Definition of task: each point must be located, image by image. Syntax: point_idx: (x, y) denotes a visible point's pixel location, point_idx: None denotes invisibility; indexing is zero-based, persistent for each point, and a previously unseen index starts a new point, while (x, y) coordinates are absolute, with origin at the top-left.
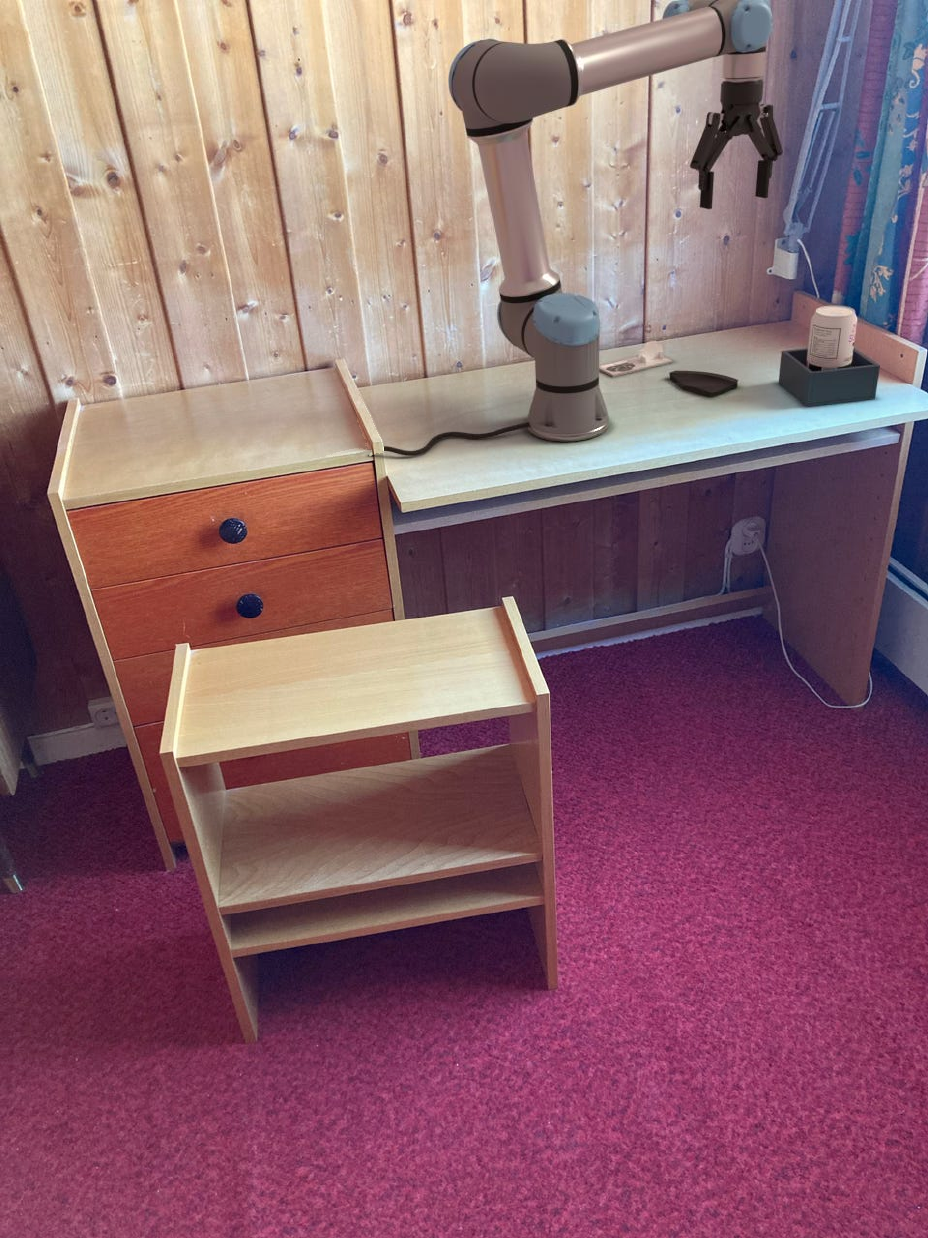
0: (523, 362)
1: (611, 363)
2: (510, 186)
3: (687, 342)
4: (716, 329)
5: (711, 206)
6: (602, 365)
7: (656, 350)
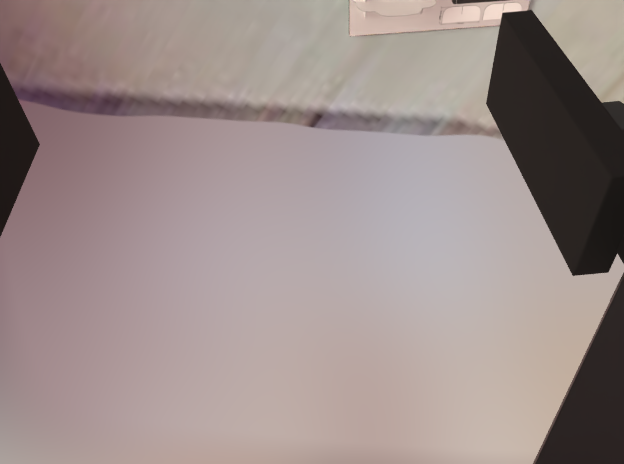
0: None
1: (483, 21)
2: None
3: (228, 65)
4: (116, 107)
5: (513, 18)
6: None
7: (376, 3)
